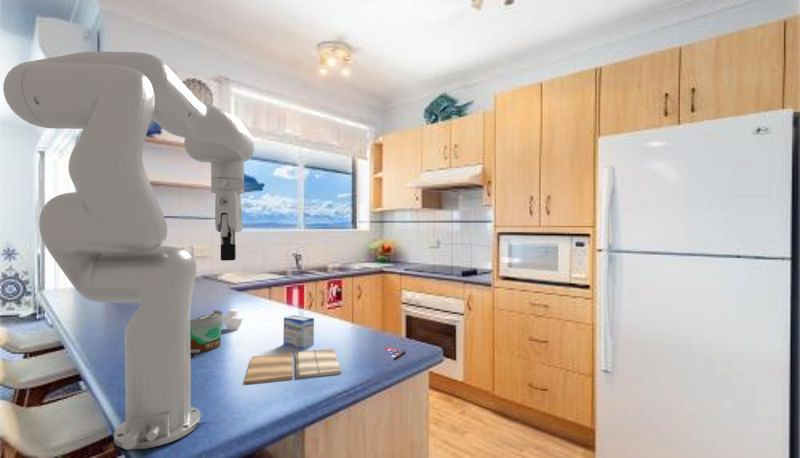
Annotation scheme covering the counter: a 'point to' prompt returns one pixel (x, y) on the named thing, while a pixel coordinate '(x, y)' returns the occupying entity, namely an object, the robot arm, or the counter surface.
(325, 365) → the board
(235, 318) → the white rounded piece
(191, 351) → the food container
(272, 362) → the click plank
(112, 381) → the counter surface
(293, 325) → the medicine box
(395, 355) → the smartphone
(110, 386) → the counter surface
